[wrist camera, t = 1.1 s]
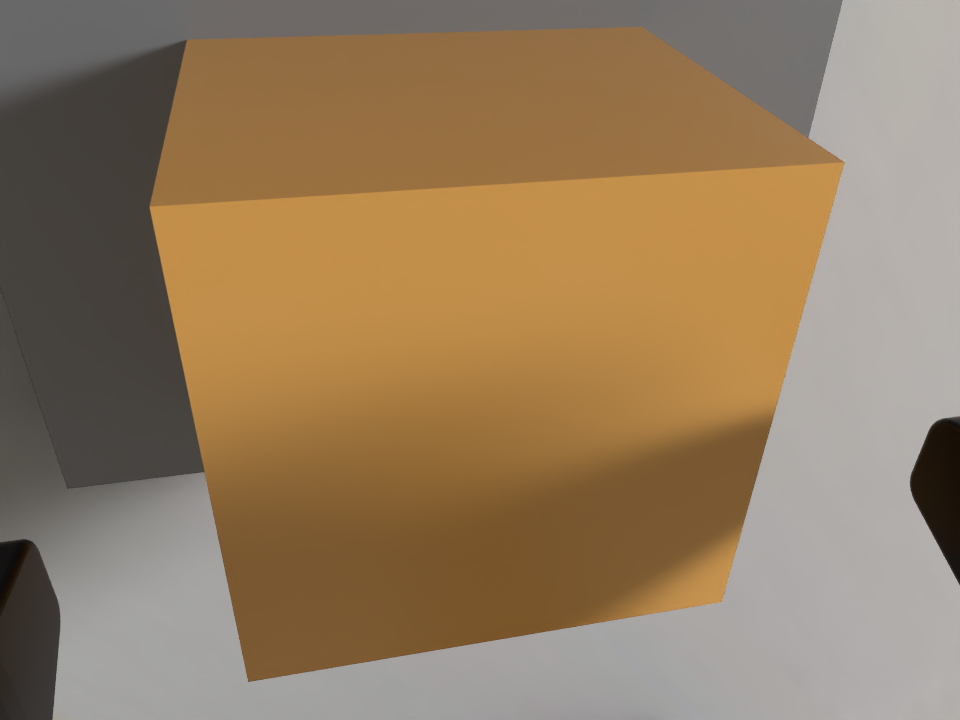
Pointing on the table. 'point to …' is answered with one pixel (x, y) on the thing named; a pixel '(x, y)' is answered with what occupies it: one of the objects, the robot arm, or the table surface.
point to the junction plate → (137, 151)
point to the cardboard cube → (476, 327)
